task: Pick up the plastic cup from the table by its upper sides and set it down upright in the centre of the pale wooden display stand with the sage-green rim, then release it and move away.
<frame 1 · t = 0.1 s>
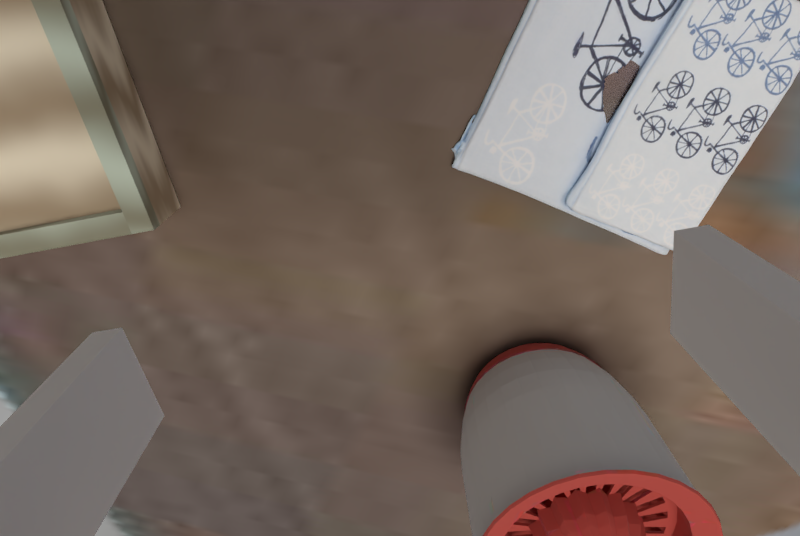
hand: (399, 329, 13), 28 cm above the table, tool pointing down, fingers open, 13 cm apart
display stand: (14, 110, 37), on the table
white flat piece: (622, 93, 38), on the table
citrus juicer: (529, 399, 49), on the table
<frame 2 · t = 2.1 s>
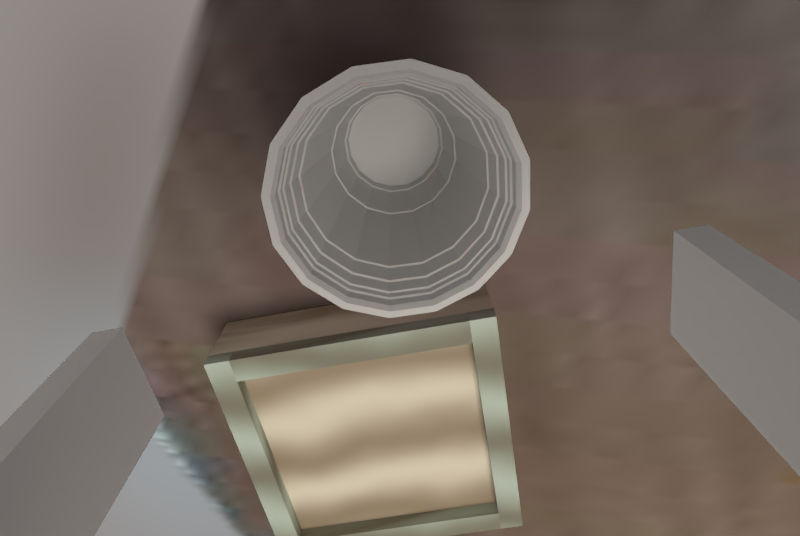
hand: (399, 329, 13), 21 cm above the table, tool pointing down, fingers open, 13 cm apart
display stand: (379, 403, 40), on the table
plastic cup: (397, 142, 32), on the table
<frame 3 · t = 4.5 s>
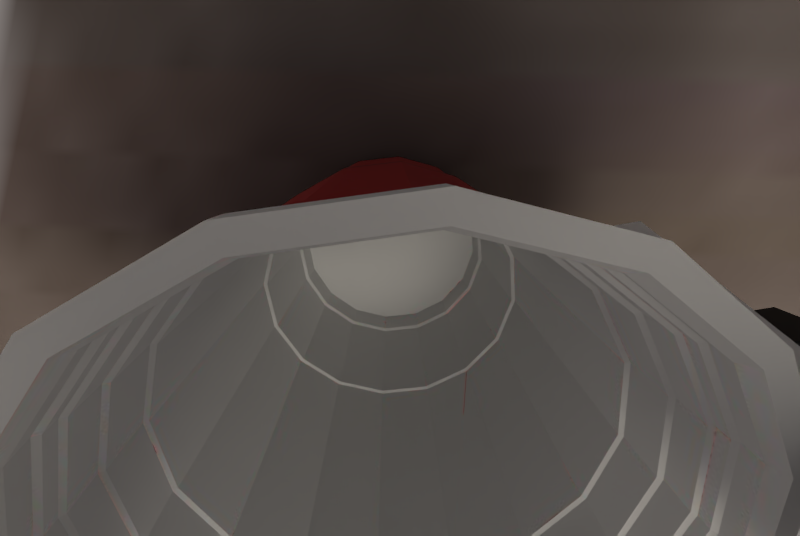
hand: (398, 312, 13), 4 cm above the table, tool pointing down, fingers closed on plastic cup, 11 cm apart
plastic cup: (397, 243, 17), on the table, touching gripper
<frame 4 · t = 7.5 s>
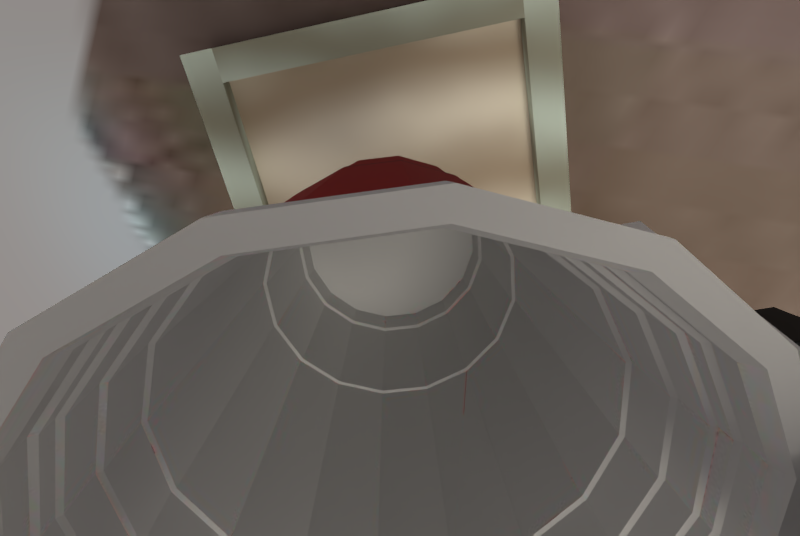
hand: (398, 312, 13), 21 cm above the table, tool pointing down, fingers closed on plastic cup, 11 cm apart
display stand: (399, 171, 33), on the table
plastic cup: (397, 243, 17), point 16 cm above the table, touching gripper
when the fingers open (10 cm above the table, at t = 10.6 s): plastic cup drops 1 cm, resting on display stand.
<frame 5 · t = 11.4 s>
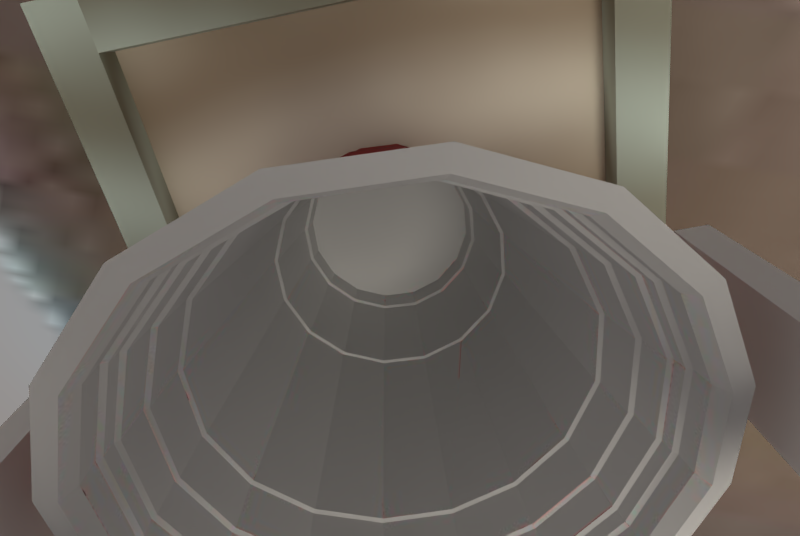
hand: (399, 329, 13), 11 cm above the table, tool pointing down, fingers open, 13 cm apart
display stand: (395, 197, 22), on the table
plastic cup: (395, 226, 19), point 4 cm above the table, touching display stand
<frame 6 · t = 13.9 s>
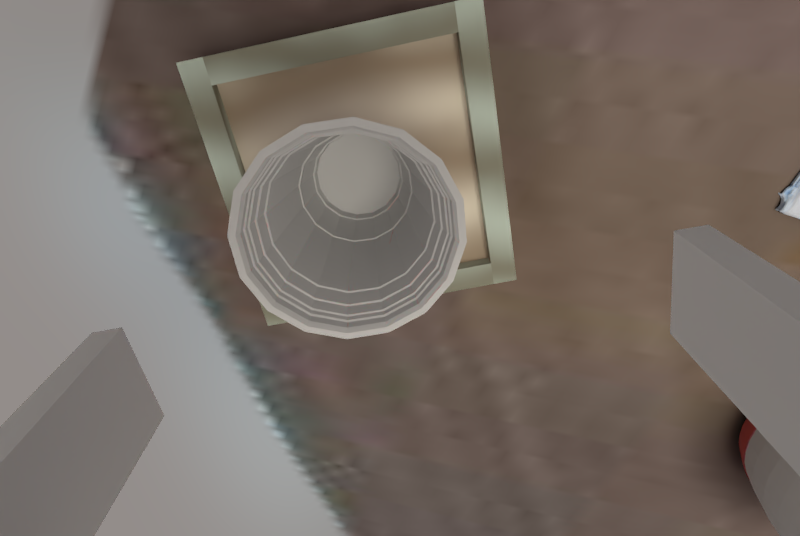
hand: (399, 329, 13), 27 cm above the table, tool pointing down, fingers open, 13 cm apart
display stand: (365, 163, 38), on the table
plastic cup: (362, 175, 35), point 4 cm above the table, touching display stand
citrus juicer: (793, 431, 49), on the table
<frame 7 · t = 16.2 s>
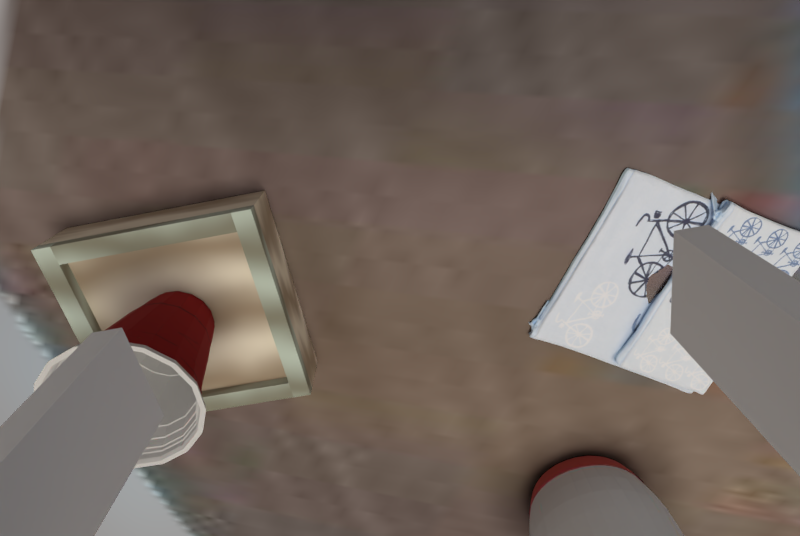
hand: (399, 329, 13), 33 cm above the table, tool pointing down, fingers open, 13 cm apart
display stand: (200, 299, 49), on the table
white flat piece: (660, 282, 50), on the table
plastic cup: (185, 319, 46), point 4 cm above the table, touching display stand
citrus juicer: (578, 495, 61), on the table
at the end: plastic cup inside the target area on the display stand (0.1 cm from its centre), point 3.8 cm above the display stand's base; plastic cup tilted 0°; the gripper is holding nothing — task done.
